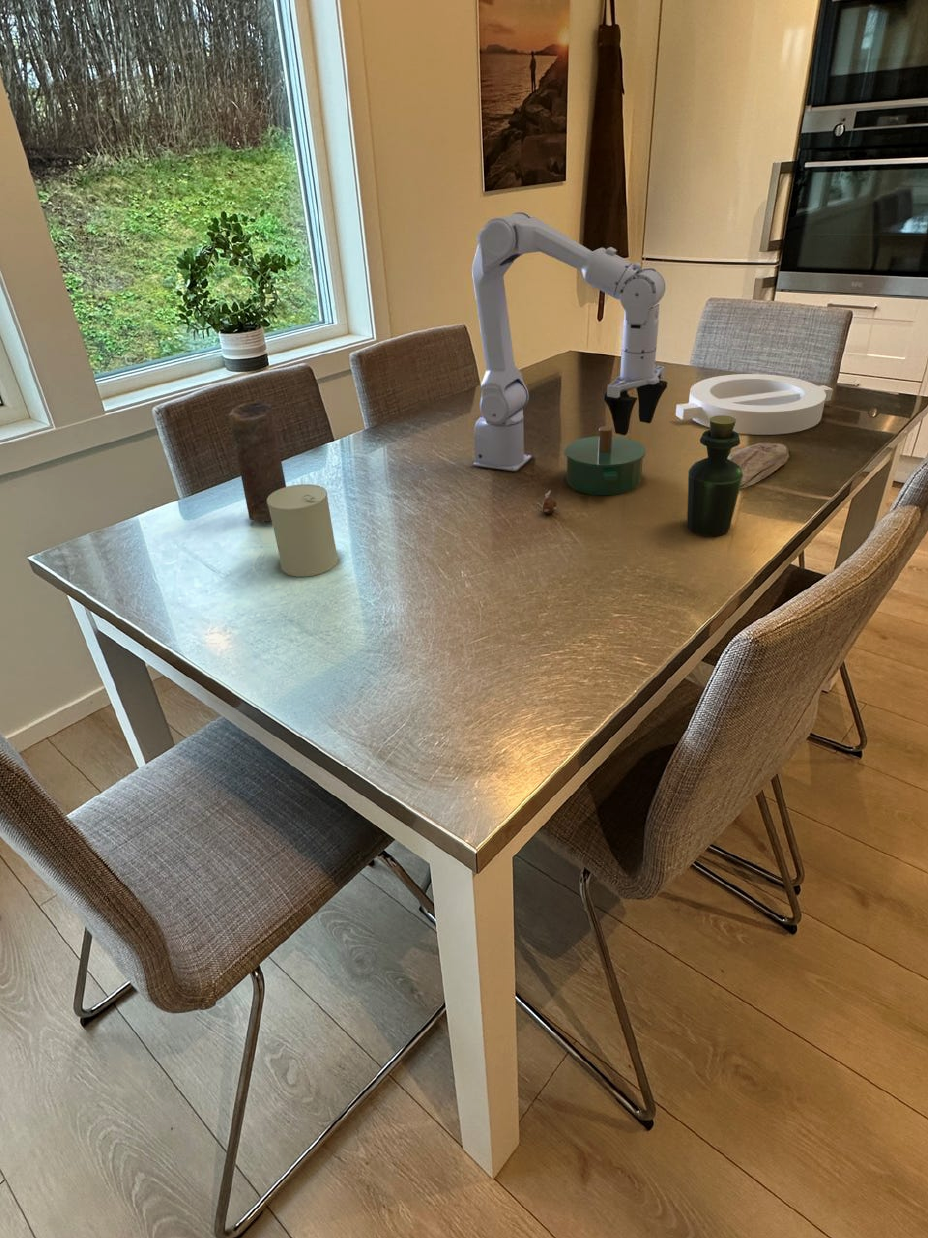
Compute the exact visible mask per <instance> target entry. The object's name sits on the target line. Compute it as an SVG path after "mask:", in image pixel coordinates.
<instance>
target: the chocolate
mask: <svg viewBox="0 0 928 1238" xmlns="http://www.w3.org/2000/svg"><path fill="white" fill-rule="evenodd" d="M551 492H552V490H551V489H550V490H549V491H548V492H547V493H544V496H545V498H544V500H543V501H542V505H541V512H542V514H545V515H548V514H553V513H554V512H555V511H556V510H557V502H556V500H555V499H554V498H552V497H550V495H551Z"/></svg>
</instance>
